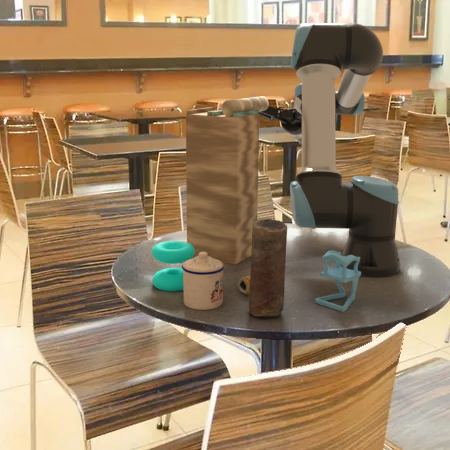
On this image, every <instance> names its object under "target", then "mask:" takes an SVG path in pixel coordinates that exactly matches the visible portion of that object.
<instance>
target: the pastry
mask: <svg viewBox="0 0 450 450" xmlns="http://www.w3.org/2000/svg"><path fill="white" fill-rule="evenodd" d="M237 287H238V289H239V291H240V292H242V293H244V295H247V296H249V291H250V275H246V276H243V277H242V276H241V277H240V279H239V281H238V283H237Z"/></svg>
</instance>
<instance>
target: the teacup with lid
mask: <svg viewBox="0 0 450 450" xmlns="http://www.w3.org/2000/svg"><path fill="white" fill-rule="evenodd" d="M181 268H182V269H183V281H184V290H183V304H184V305H185V306H186V307H188V309H193V310H196V311H197V310H199V311H201V310H203V311H207V310H213V309H216V308H219V307H220V306H221V305H222V304H223V301H224V300H223V299H224V293H223V292H224V291H223V290H224V284H223V283H224V269H225V265H224V262H221V261H220V260H217V259H214V258H212V257H210V256H208V254H207V252H200V253H199V256H197V257H192V258H191V259H189V260H187V261H185V262H183V263H182V266H181Z"/></svg>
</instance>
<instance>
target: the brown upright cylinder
mask: <svg viewBox="0 0 450 450" xmlns="http://www.w3.org/2000/svg"><path fill="white" fill-rule="evenodd" d="M287 240H288V226H287V224H286V223H284V222H283V221H282V220H279V219H271V218H263V219H257V221H255V222H254V224H253V228H252V249H251V256H250V274H249V276H250V291H249V295H248V313H250V314H251V315H252V316H254V317H266V318H274V317H275V318H276V317H277V316H279V315H280V314H282V313H283V311H284V304H285V303H284V302H285V301H284V300H285V284H286V283H285V282H286V263H287V262H286V260H287V259H286V258H287V257H286V256H287Z"/></svg>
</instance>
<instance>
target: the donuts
mask: <svg viewBox="0 0 450 450" xmlns="http://www.w3.org/2000/svg"><path fill="white" fill-rule="evenodd" d="M194 253H195V250H194V247H193V246H192V245H191V244H189V243H187V241H181V240H166V241H161V242H158V243H156V244H155V245H154V246H153V247H152V250H151V254H152V257H153V258H154V259H155V260H157V261H158V262H160V263H163V264H169V265H172V264H173V265H175V264H176V265H177V264H184V262H185V261H187V260H189V259H193V258H194V257H193V256H194ZM152 284H153V286H154V287H155V288H157V289H159V290H161V291H165V292H182V291H184V281H183V269H182V267H167V268H166V267H165V268H163V269H159V270H158V271H157V272H155V273H154V274H153V276H152Z"/></svg>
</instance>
